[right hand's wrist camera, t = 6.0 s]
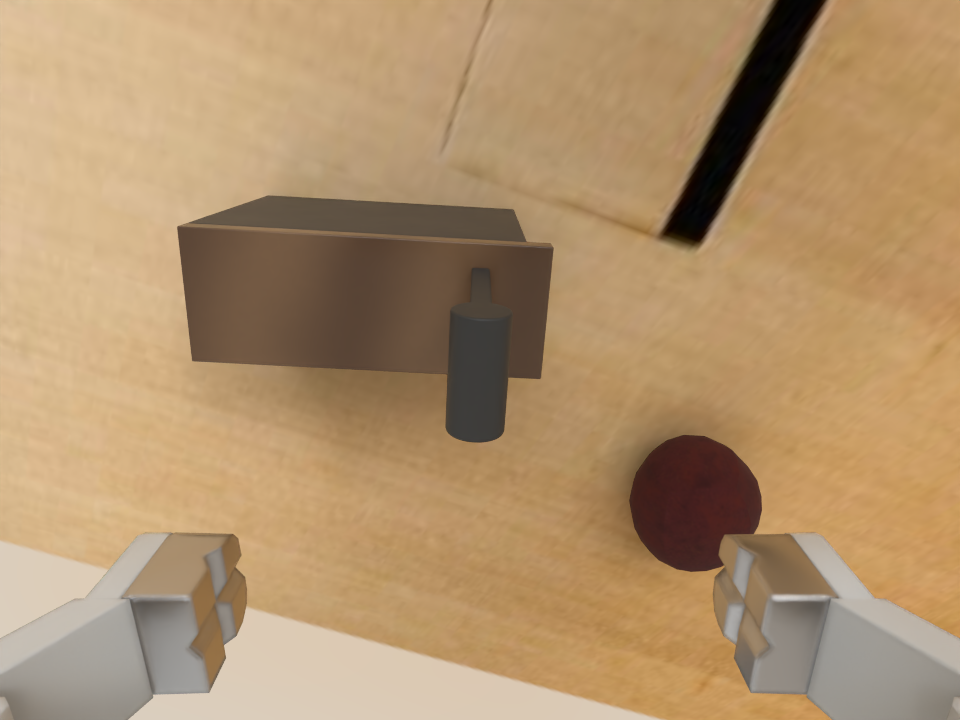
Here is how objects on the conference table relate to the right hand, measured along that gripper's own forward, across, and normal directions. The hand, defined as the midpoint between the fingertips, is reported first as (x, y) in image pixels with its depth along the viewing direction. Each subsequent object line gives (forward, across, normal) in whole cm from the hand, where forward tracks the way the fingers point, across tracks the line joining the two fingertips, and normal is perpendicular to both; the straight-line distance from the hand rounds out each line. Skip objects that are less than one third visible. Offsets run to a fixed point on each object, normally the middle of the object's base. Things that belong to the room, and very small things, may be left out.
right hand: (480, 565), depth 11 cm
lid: (+16, -5, 0) cm, 17 cm away
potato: (+26, +12, -14) cm, 32 cm away
